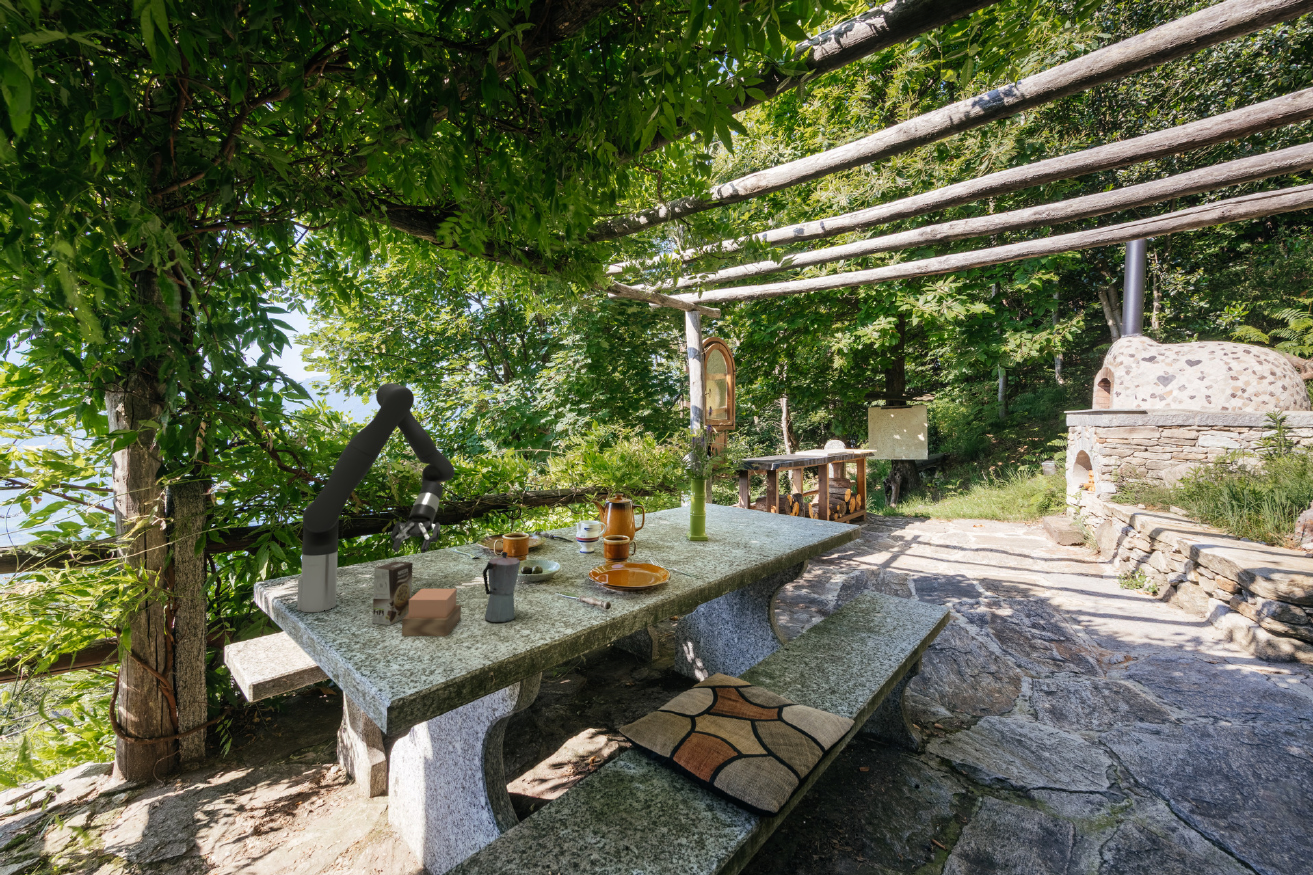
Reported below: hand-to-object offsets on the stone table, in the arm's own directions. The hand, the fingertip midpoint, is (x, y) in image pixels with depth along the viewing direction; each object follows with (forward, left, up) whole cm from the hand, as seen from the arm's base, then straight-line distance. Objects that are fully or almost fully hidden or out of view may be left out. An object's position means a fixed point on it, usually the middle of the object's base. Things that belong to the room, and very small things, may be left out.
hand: (409, 551), depth 164 cm
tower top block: (+14, -16, -13) cm, 25 cm away
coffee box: (0, -10, -18) cm, 21 cm away
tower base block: (+14, -16, -18) cm, 28 cm away
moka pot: (+31, -8, -18) cm, 37 cm away
